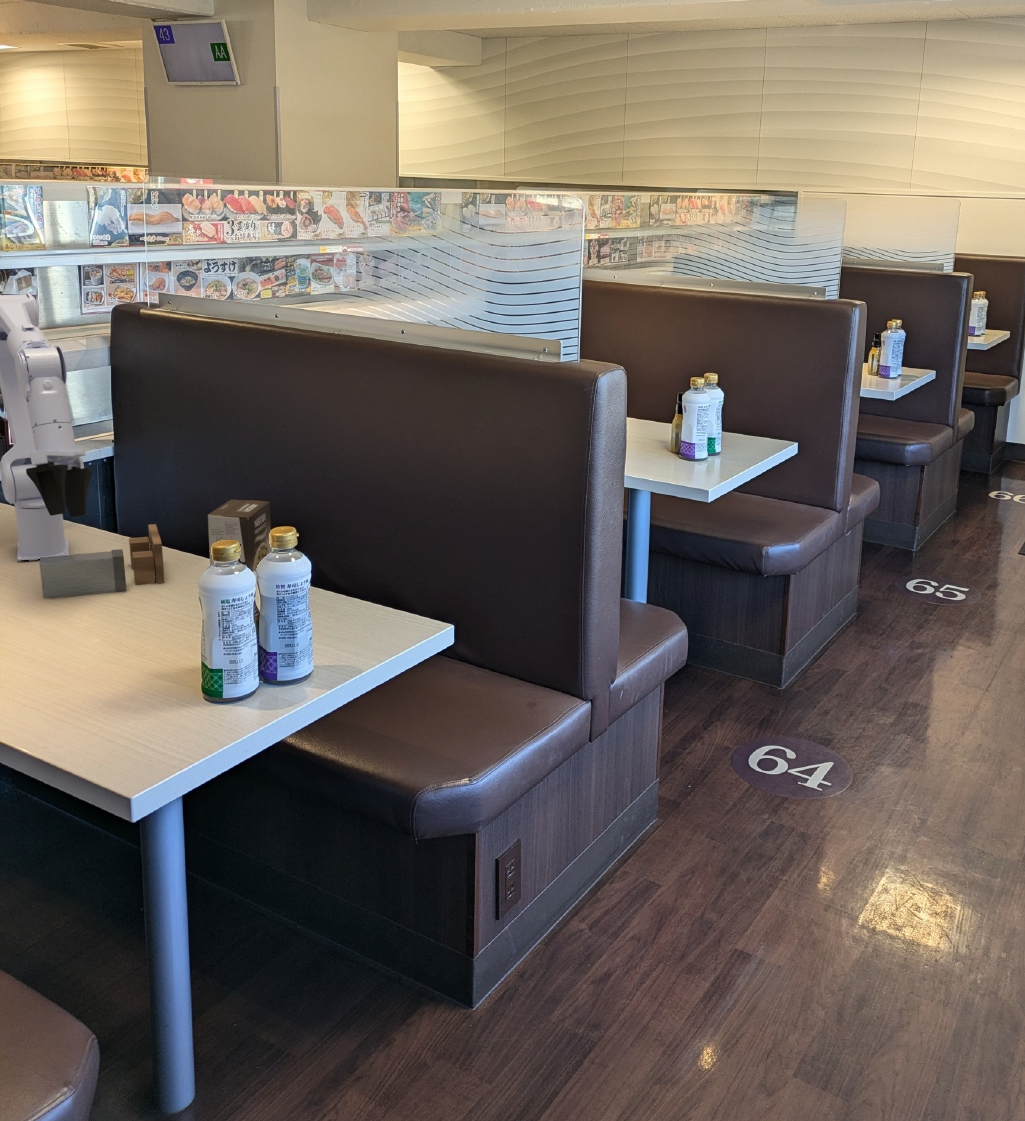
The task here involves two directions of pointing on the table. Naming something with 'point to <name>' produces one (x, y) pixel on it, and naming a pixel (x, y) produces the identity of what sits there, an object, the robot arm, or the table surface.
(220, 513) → the coffee box
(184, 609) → the table surface
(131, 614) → the table surface
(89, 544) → the table surface
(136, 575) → the post block
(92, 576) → the rail
